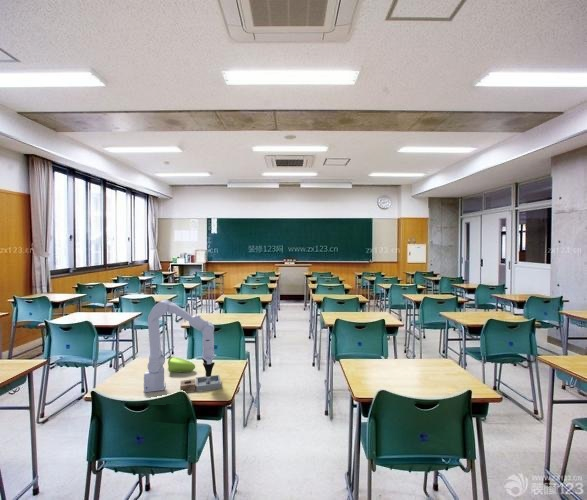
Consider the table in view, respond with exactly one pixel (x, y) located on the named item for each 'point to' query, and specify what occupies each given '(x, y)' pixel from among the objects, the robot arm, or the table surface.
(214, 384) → the tray
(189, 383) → the pin block
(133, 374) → the table surface
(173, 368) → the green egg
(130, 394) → the table surface
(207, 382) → the pin
